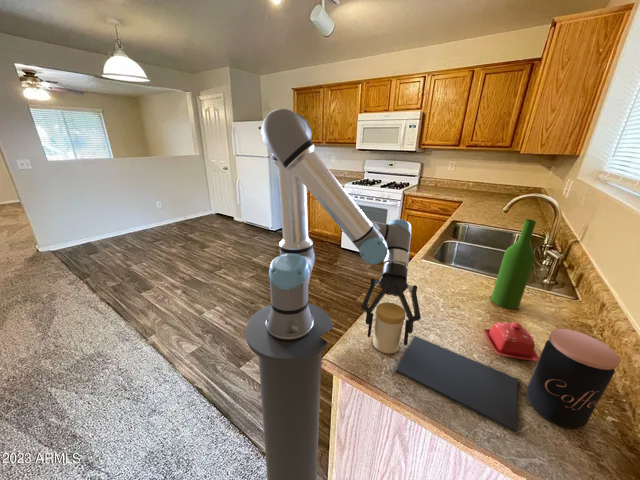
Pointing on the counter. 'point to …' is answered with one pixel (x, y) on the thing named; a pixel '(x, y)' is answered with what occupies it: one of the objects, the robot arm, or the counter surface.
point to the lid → (390, 313)
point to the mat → (462, 381)
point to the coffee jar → (571, 377)
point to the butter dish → (511, 341)
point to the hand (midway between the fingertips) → (386, 340)
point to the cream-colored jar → (387, 336)
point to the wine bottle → (515, 270)
